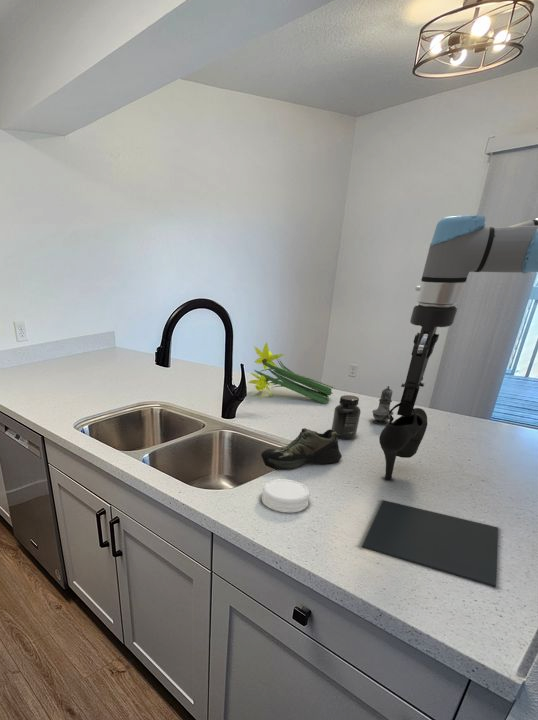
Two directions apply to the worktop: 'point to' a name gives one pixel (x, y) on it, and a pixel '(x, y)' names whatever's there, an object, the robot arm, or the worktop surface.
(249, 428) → the worktop surface
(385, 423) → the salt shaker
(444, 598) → the worktop surface
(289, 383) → the daffodil flowers
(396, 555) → the mat
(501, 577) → the worktop surface
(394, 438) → the high-heeled shoe
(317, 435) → the hiking shoe
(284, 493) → the coaster
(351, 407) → the supplement bottle
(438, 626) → the worktop surface
